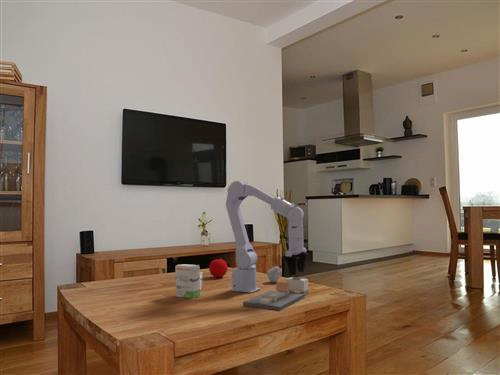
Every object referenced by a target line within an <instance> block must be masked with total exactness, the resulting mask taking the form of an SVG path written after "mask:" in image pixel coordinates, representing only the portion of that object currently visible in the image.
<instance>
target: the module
mask: <svg viewBox="0 0 500 375" xmlns="http://www.w3.org/2000/svg"><path fill="white" fill-rule="evenodd" d="M285 283H288V284H289V292H290V293H295V292H299V294H304V296H306V295H308V294H309V278H304V277H287V278H285Z"/></svg>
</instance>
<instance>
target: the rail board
mask: <svg viewBox="0 0 500 375" xmlns="http://www.w3.org/2000/svg"><path fill="white" fill-rule="evenodd" d="M304 298H305V295H304V294H300V293H297V292H293V293H290V292H289V291H288V292H283V291H276V290H268V291H266V292H264V293H261V294H259V295H256V296H254V297H251V298H249V299H246V300H244V301H243V302H242V305H243V306H245V307H251V308H258V309H266V310H273V311H282V310H284V309H286V308H288V307H290V306H291V305H293V304H296V303H297V302H298V301H301V300H304Z"/></svg>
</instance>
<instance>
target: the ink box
mask: <svg viewBox="0 0 500 375" xmlns="http://www.w3.org/2000/svg"><path fill="white" fill-rule="evenodd" d="M200 266H201V265H199V264H197V265H196V264H185V263H184V264H183V263H182V264H177V265H175V269H174V270H175V271H174V272H175V297H176V298H178V297H179V298H185V299H195V298H198V297H200V296H201V277H200V276H201V275H200V273H201V272H200V269H201V268H200Z"/></svg>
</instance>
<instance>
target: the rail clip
mask: <svg viewBox="0 0 500 375" xmlns="http://www.w3.org/2000/svg"><path fill="white" fill-rule="evenodd" d="M275 291H283V292H288V291H289V284H288V283H286V282H285V281H283V282H280V281H277V282H276V284H275Z"/></svg>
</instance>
